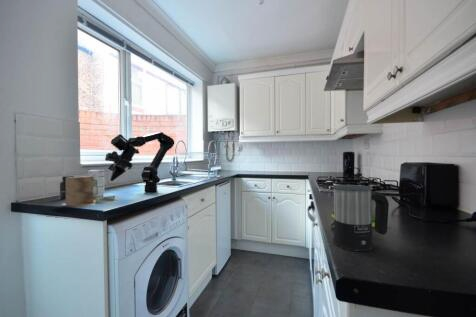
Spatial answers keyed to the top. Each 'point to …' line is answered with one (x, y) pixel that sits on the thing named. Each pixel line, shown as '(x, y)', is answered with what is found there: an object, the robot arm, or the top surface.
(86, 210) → the top surface
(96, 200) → the chute
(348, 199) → the milk frother
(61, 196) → the supplement bottle
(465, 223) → the top surface
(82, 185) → the block
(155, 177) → the robot arm
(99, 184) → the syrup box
